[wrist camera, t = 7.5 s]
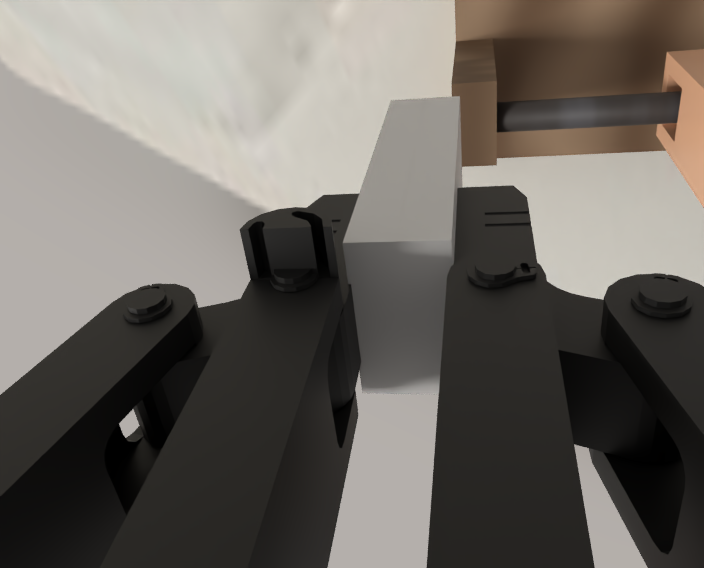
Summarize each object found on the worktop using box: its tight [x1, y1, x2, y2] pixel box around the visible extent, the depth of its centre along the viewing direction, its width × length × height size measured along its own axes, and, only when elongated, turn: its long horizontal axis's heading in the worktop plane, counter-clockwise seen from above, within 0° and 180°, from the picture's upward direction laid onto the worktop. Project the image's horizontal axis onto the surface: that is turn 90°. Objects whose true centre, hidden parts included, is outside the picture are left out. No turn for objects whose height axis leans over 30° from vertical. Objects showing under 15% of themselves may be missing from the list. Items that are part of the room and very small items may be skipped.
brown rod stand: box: [452, 0, 704, 167], centre depth 33 cm, size 22×10×10 cm, turn 96°
